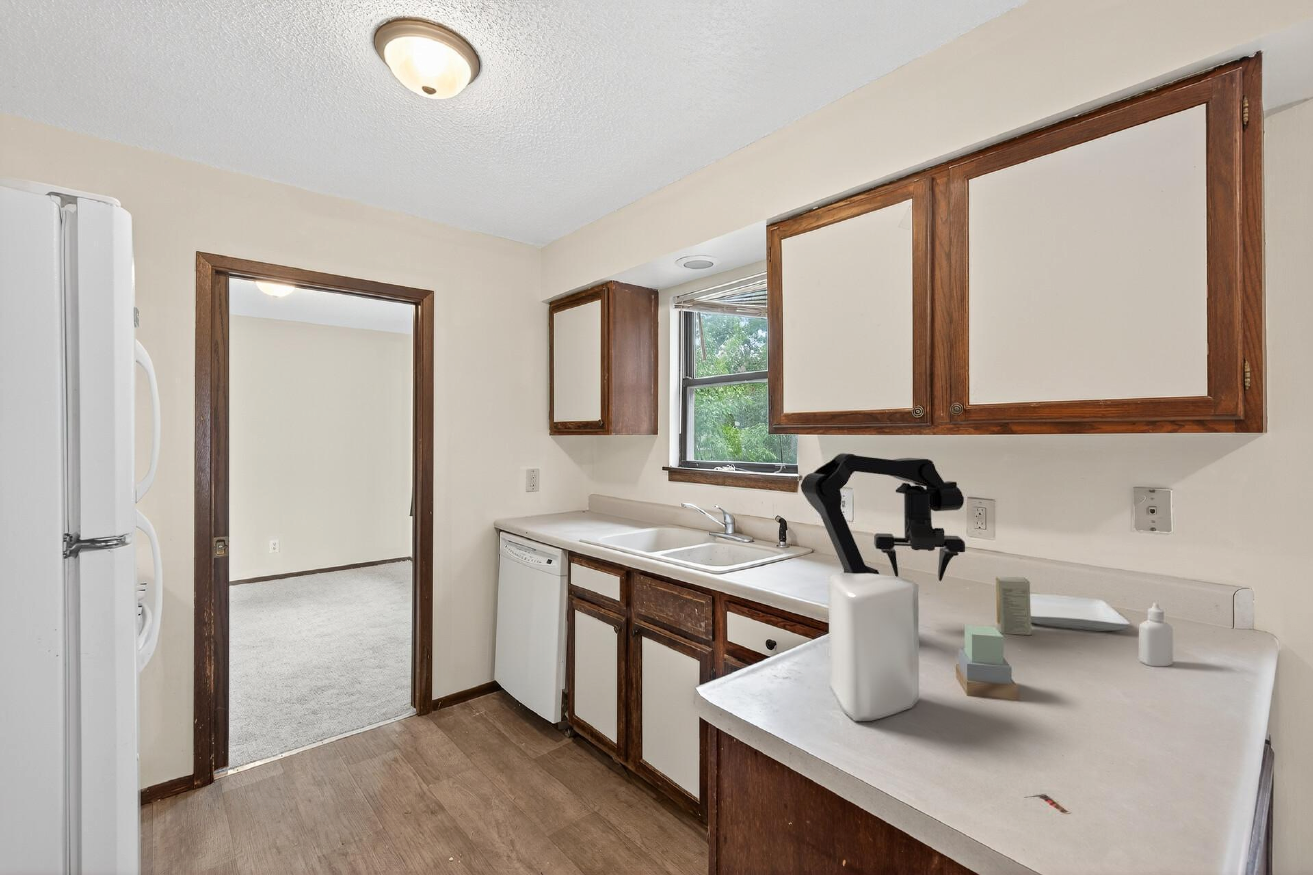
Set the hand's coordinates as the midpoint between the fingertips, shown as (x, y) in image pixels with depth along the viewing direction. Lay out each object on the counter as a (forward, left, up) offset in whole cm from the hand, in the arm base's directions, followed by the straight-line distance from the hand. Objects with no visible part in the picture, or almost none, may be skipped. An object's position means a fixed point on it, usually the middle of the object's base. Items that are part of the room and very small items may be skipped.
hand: (918, 579), depth 136 cm
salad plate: (+36, +17, -13) cm, 42 cm away
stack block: (+6, -29, -6) cm, 30 cm away
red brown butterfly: (+4, -64, -13) cm, 65 cm away
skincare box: (+21, +4, -12) cm, 25 cm away
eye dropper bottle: (+42, -10, -12) cm, 45 cm away
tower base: (+6, -29, -13) cm, 32 cm away
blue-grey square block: (+6, -29, -10) cm, 31 cm away
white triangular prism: (-13, -39, -12) cm, 43 cm away
